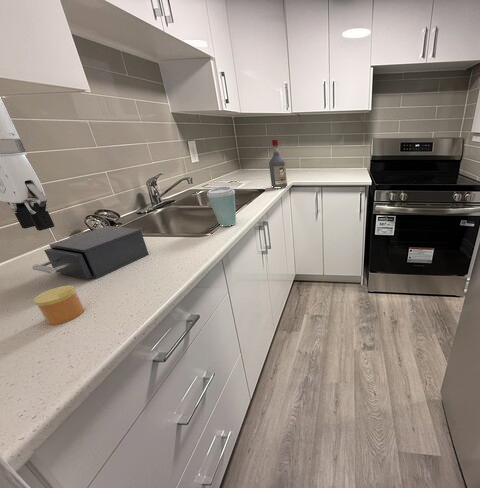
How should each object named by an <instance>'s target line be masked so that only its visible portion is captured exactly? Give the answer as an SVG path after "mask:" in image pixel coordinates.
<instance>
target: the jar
mask: <svg viewBox="0 0 480 488" xmlns="http://www.w3.org/2000/svg"><path fill="white" fill-rule="evenodd" d="M33 302H34V304H35V306H37V308H38V310H39V311H40V313H41V314H42V316H43V318H44V320H45V321H46V323H47V324H48V325H51V326H55V325H61V324H64V323H67V322H70V321H72V320H74V319H76V318H78V317H80V316H81V315H82V314H83V313H84V311H85V307H84V305H83V303H82V301H81V299H80V297H79V295H78V293H77V289H76V288H75V286H73V285H62V286H57V287H54V288H51V289H48V290H46V291H43V292H42V293H40V294H38V295H36V297H34V299H33Z"/></svg>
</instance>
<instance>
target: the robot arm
mask: <svg viewBox="0 0 480 488" xmlns="http://www.w3.org/2000/svg"><path fill="white" fill-rule="evenodd" d="M26 155H28V153H27V150H26V148H25V146H24V144H23V142H22V139H21V137H20V135H19V133H18V131H17V129H16V127H15V124H14V122H13V120H12V118H11V115H10V114H9V112H8V109H7V107H6V105H5V103H4V101H3V98H2V97H1V96H0V202H4V203H7V205H9V206H10V209H11V212H13V214H14V215H15V217H16V219H17V221H18V223H19V225H20V227H21V229H29V228H34V227H35V229H36V231H37V232H38V231H39V232H41V231H44V230H48V229H51V228H54V227H55V223H54V221H53V219H52V217H51V215H50V213H49V209H48V207H47V202H48V198H47V196H46V192H45V189H44V188H43V185H42V183H41V181H40V179H39V176H38V175H37V173H36V172H35V170H34V168H33V166H32V164H31V163H30V161H29V159H28V158H27V156H26ZM32 204H33V205H32Z"/></svg>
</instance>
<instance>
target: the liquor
mask: <svg viewBox="0 0 480 488" xmlns="http://www.w3.org/2000/svg"><path fill="white" fill-rule="evenodd" d="M271 144H272V145H271V146H272V152H273V154H272V157H271V158H270V160H269V161H268V162H269V163H268V167H269V174H270V175H269V176H270V184H271V187H272V186H273V187H286V186H287V187H288V179H287V167H286V165H287V164H286V161H285V159H283V158H282V156H281V155H280V150H279V149H280V148H279V140H278V139H271ZM287 187H286V188H287Z"/></svg>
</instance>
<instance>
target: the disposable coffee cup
mask: <svg viewBox="0 0 480 488" xmlns="http://www.w3.org/2000/svg"><path fill="white" fill-rule="evenodd" d="M235 193H236V191H235V189H234V188H233V186H228V185H227V186H225V185H224V186H217V187H214V188H211V189H209V190H208V191H207V193H206V197H207V199H208V201H209V204H210V206H211V208H212V211H213V213H214V216H215V218H216V220H217V223H218V225H219V224H220V225H223V226H229V227H232V226H234V225H236V222H237V213H236V196H235V195H236V194H235ZM220 225H219V226H220ZM231 225H232V226H231Z"/></svg>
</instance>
